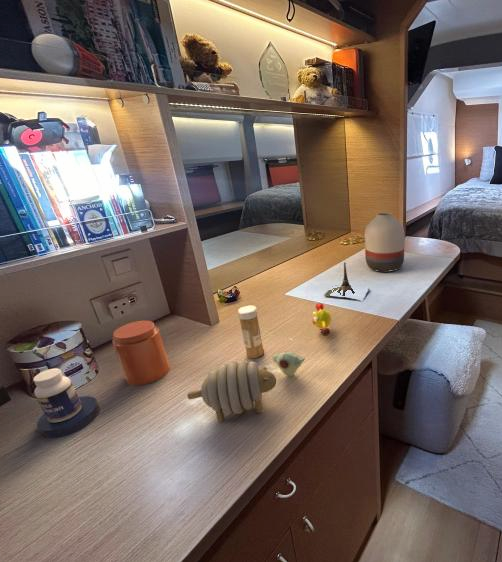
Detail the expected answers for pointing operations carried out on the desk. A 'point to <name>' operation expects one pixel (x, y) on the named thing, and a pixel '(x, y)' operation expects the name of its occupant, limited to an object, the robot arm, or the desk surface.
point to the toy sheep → (235, 388)
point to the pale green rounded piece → (288, 362)
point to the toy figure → (322, 319)
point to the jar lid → (70, 420)
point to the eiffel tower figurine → (344, 286)
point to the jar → (141, 352)
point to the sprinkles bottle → (251, 331)
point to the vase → (384, 243)
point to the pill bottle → (56, 395)
